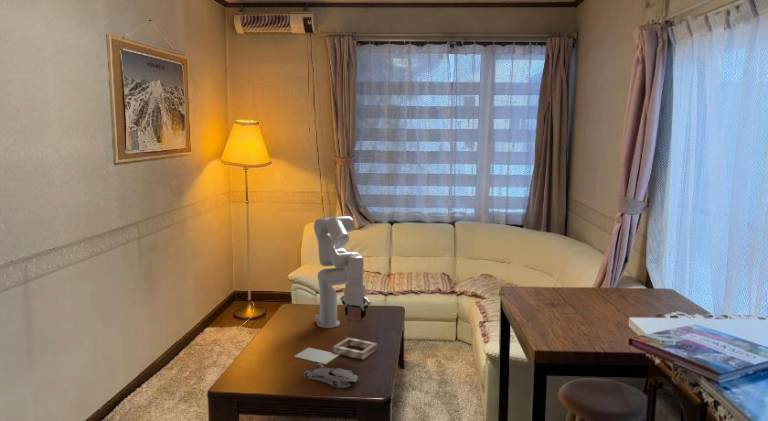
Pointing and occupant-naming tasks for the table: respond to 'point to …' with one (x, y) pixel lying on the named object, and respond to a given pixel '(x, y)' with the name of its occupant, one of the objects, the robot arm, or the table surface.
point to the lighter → (354, 314)
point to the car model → (332, 376)
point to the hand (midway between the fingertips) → (355, 315)
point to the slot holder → (368, 346)
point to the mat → (317, 355)
